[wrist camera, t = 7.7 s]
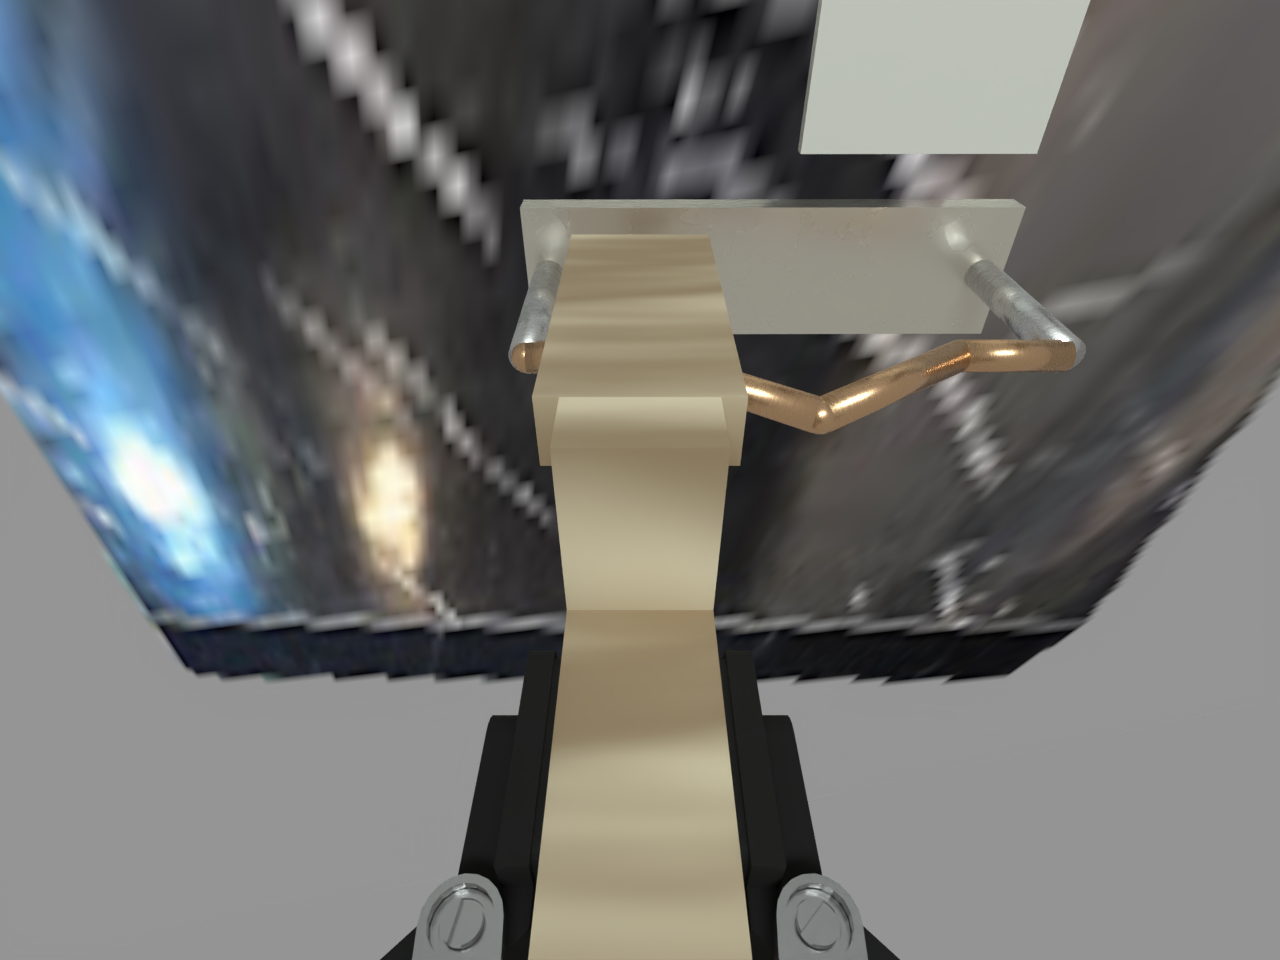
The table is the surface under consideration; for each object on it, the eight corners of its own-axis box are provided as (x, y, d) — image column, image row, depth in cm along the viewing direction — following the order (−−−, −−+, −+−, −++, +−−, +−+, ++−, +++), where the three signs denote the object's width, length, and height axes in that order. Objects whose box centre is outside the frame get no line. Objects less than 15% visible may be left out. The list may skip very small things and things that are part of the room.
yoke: (571, 234, 19) (429, 818, 6) (708, 234, 19) (850, 819, 6) (589, 519, 26) (540, 1074, 13) (690, 519, 26) (739, 1074, 13)
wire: (523, 199, 30) (460, 341, 19) (1013, 199, 30) (1222, 339, 19) (536, 323, 33) (490, 499, 23) (971, 322, 33) (1125, 497, 23)
